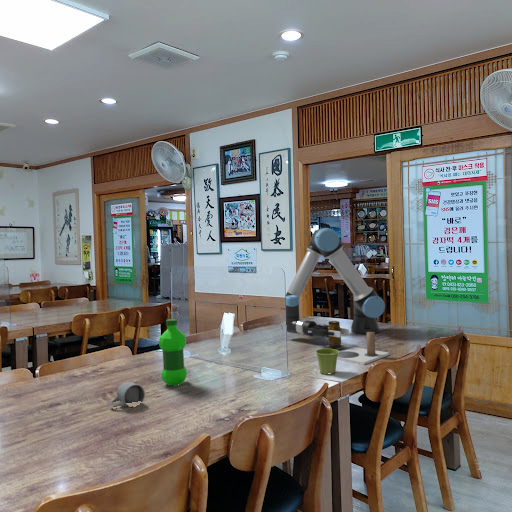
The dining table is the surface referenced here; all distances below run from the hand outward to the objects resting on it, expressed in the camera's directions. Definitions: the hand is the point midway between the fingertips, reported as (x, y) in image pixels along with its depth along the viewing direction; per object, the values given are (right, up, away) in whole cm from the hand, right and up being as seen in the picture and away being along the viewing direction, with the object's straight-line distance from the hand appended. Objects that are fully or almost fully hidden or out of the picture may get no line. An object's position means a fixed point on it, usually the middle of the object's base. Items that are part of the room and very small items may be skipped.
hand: (344, 333), depth 223 cm
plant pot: (-13, -10, -35) cm, 38 cm away
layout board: (+4, -8, -12) cm, 15 cm away
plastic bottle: (-73, -13, -41) cm, 85 cm away
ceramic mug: (-86, -15, -62) cm, 107 cm away
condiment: (-3, -7, +4) cm, 9 cm away
